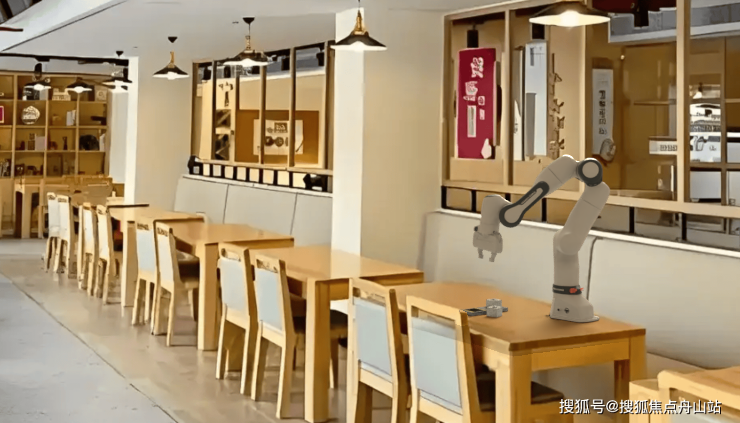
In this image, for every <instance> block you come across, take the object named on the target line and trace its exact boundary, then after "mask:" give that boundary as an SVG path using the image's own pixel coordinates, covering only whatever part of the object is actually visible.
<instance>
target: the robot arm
mask: <svg viewBox="0 0 740 423" xmlns="http://www.w3.org/2000/svg"><path fill="white" fill-rule="evenodd" d="M603 168H604V167H603V165H602V164H601V162H600V161H599V160H598V159H596V158H594V157H587V158H583V159H582V160H578V161H577V160H576V159H575V158H574V157H573V156H571V155H569V154H563V155H561V156H559V157H558V158H556V159H555V160H553V161H552V162H550V163H549V164H548V165H546V166H545V167H544V168H543V169H542V170H541V171H540V172H539V174H537V176H536V178H535V179H534V182H533V185H531V188H530V189H528V191H527V192H526V193H525V194H523V195H522V196H521V197H519V199H518V200H516V201H515V202H512V201H511V202H510V201H509V200H506V199H505V198H504V197H502V196H501V195H500V194H487V195H486V196H484V197H483V199H482V202H481V208H480V214H481V215H480V219H479V220H480V221H479V224H478V225H476V226H474V227H473V232H474V233H473V235H472V236H473V237H472V246H473V248H476V249H477V254H478V259H484V254H483V251H487V252H490V257H489V260H488V262H490V263H495V258H496V257H497V255H498V254H502V252H503V248H504V245H503V242H504V241H503V240H504V239H503V237H502V234H501V232H500V224H501V225H503V226H504V227H505V228H515V227H517V226H519V225H520V224H521V222H522V220H523V219H524V216H525V215H526V213H527V212H528V211H529V210H530V209H531V208H532V207H534V206H535V205H536V204H537V203H538V202H539V201H541V200H542V199H544V198H545V197H547V196H550V195H551V194H553V193H554V192H556V191H557V190H559V189H560V188H562V187H563V186H564V185H565V184H566V183H567V182H568V181H570V180H571V179H573V178H575V179H576V180H578V181H580V182H581V183H584V190H583V192H582V193H581V195H580V197H579V198H578V200H577V202H576V203H575V204H574V207H573V208H572V210H571V211H570V213H569V215H568V217H567V219H566V221H565V223H564V226H563V227H562V228H560V229H558V230H557V231H556V232H554V235H553V238H552V246H553V247H552V248H553V249H552V250H553V251H552V252H553V283H552V290H551V291H552V299H551V300H552V301H551V307H550V312H549V314H548V315H549V318H551V319H558V320H563V321H569V322H570V321H571V322H575V323H588V322H589V323H590V322H595V321H599V320H600V317H599V316H598V315H595V311H594V306H593V304H592V303H591V302H590V301H589V300H588V299H587V298H586V297H585V296H584V295H583V290H584V289H585V288H584V287H581V286H580V264H579V262H580V261H579V251H581V249H582V247H583V245H584V243H585V240H586V239H587V237H588V236H589V232H590V231H591V229H592V227H593V226H594V224H595V222H596V220H597V219H598V217H599V216H600V214H601V212H602V211H603V209H604V207H605V205H606V203H607V202H608V200H609V197H610V195H611V188H610V187H609V185H608V184H606V182H604V181H603V180H604V179H603V176H604V170H603Z"/></svg>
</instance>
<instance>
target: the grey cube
mask: <svg viewBox="0 0 740 423" xmlns="http://www.w3.org/2000/svg"><path fill="white" fill-rule="evenodd" d="M485 306H486V308H487V307H489V306H499V307H502V306H503V300H502V299H499V298H488V299H485Z"/></svg>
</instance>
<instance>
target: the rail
mask: <svg viewBox="0 0 740 423" xmlns="http://www.w3.org/2000/svg"><path fill="white" fill-rule="evenodd" d="M460 310H463V311H465V312H467V314H468V315H467V316H469V317H475V316H481V315H482V316H483V315H487V308H486V305H485V306H478V307H472V308H465V309H464V308H463V309H460ZM508 311H509V307H507V306H503V305H502V313H503V312H508Z"/></svg>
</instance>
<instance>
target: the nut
mask: <svg viewBox="0 0 740 423" xmlns="http://www.w3.org/2000/svg"><path fill="white" fill-rule="evenodd" d="M502 316H503V312H502V307H499V306H489V307H487V314H486V317H491V318H499V317H502Z"/></svg>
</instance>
